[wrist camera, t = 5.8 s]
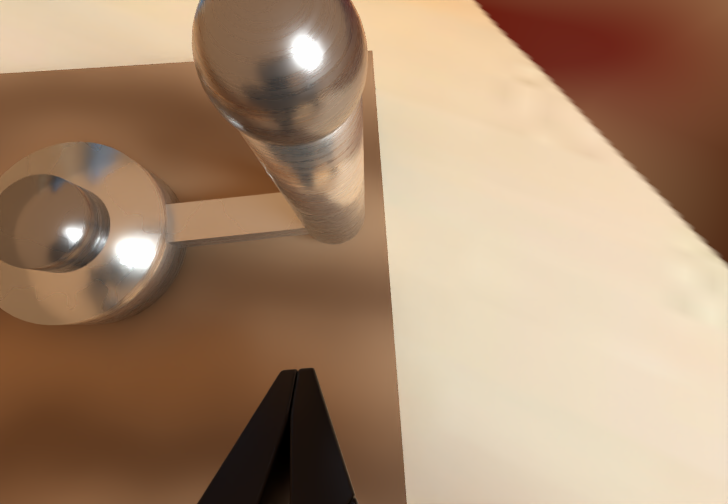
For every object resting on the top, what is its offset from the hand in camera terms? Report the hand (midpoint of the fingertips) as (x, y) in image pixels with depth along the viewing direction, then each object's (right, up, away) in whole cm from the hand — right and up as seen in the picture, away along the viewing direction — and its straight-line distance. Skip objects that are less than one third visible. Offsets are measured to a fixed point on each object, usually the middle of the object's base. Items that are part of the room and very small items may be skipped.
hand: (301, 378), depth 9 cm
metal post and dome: (-7, +4, +5) cm, 10 cm away
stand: (-7, +1, +7) cm, 10 cm away
